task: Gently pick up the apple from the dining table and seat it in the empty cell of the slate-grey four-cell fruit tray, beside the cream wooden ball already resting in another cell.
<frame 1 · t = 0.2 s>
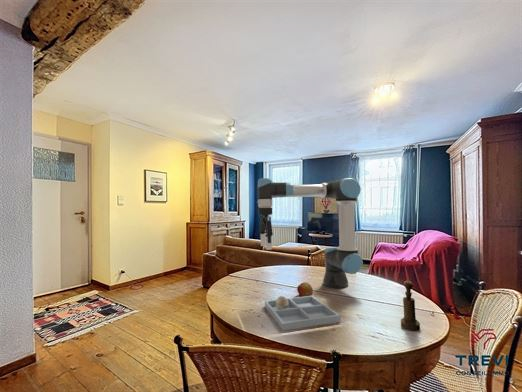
hand: (265, 247, 132), 27 cm above the table, fingers open, 13 cm apart
tray: (299, 315, 111), on the table
dark tall piece: (410, 328, 99), on the table
apple: (305, 298, 134), on the table
wooden ball: (282, 309, 115), point 1 cm above the table, touching tray
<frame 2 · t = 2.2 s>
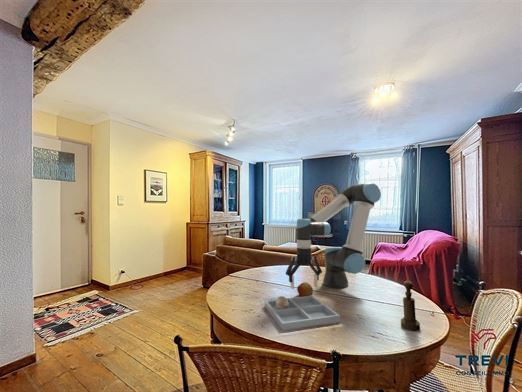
hand: (304, 287, 134), 5 cm above the table, fingers open, 13 cm apart
nothing on the table moved.
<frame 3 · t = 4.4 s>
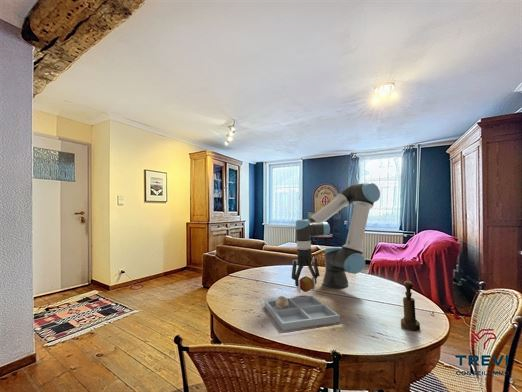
hand: (306, 291, 134), 3 cm above the table, fingers closed on apple, 8 cm apart
apple: (306, 292, 134), point 3 cm above the table, touching gripper
everything else where it was.
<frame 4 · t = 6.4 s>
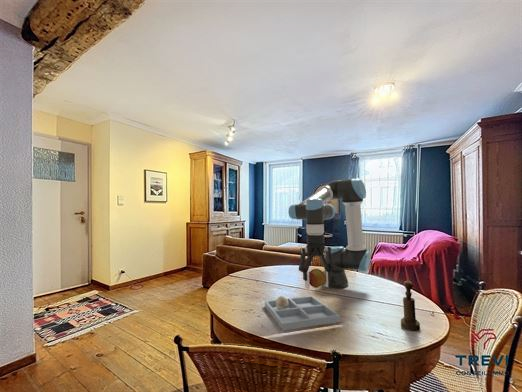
hand: (316, 287, 108), 14 cm above the table, fingers closed on apple, 8 cm apart
apple: (316, 288, 108), point 13 cm above the table, touching gripper
everything else where it was.
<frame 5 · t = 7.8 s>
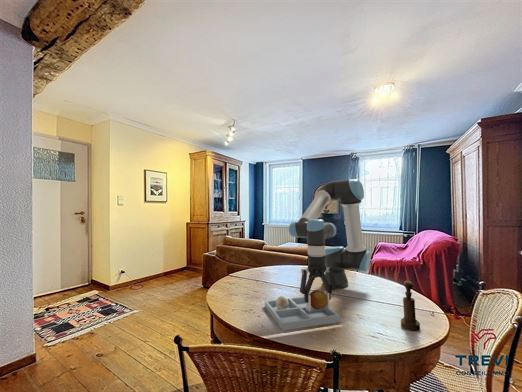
hand: (318, 308, 107), 5 cm above the table, fingers closed on apple, 8 cm apart
apple: (318, 309, 107), point 4 cm above the table, touching gripper
everything else where it was.
when the fingers open (4 cm above the table, at t = 8.7 s): apple drops 3 cm, resting on tray.
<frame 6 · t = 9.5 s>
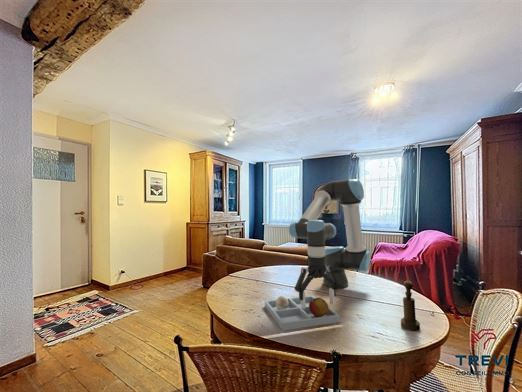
hand: (317, 306, 107), 6 cm above the table, fingers open, 13 cm apart
apple: (319, 317, 107), point 1 cm above the table, touching tray
everything else where it was.
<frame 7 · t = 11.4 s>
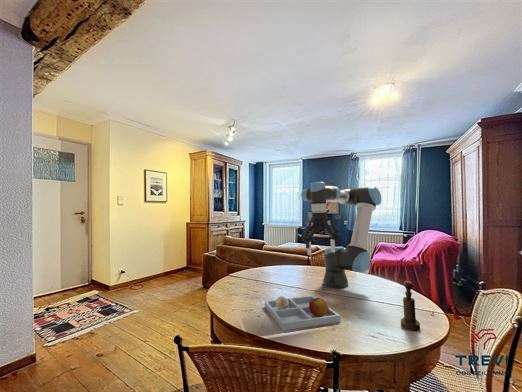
hand: (321, 253, 129), 24 cm above the table, fingers open, 13 cm apart
nothing on the table moved.
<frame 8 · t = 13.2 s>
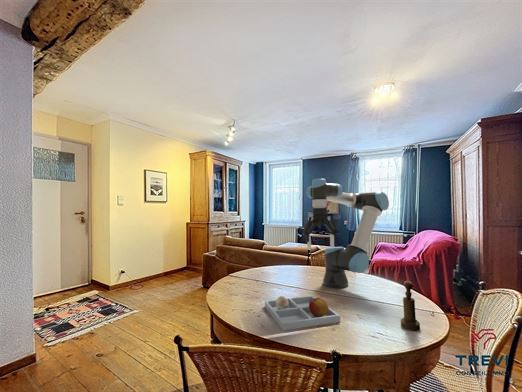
hand: (320, 247, 133), 27 cm above the table, fingers open, 13 cm apart
nothing on the table moved.
at the end: apple inside the target area on the tray (0.4 cm from its centre), point 0.8 cm above the tray's base; the gripper is holding nothing; wooden ball moved 0.0 cm from its start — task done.
